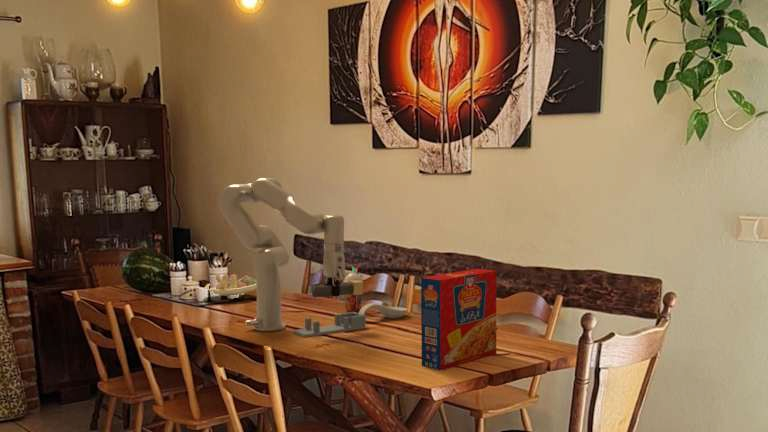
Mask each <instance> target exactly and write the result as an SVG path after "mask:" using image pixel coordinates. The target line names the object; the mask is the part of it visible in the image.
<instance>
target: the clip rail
mask: <svg viewBox="0 0 768 432" xmlns="http://www.w3.org/2000/svg"><path fill="white" fill-rule="evenodd" d="M366 319H367V318H366V314H365V315H362V314H359V312H358V313H356V312H344V313H340V314H339V313H337V314H334V324H328V325H322V326H321V325H320V321H319V320H317V321H313V322H312V318H311V317H309V318H304V321H305V322H304V325H305V326H304V327H305V328H301V329H300V328H299V329H293V334H295V335H298V336H299V337H302V338H309V337H315V336H321V335H329V334H335V333H340V332H341V333H343V332H348V331H355V330H361V329H366V326H367V324H366ZM312 323H313V326H312Z"/></svg>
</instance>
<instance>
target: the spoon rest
mask: <svg viewBox="0 0 768 432" xmlns="http://www.w3.org/2000/svg"><path fill="white" fill-rule="evenodd" d="M371 308H376V309H377V310H378V311H379V312H380V313H381V314H382V316H384V317H385V318H386V319H400V318H402V317H404V316H405V315H406V314H407V313H408V311H409V310H408V308H405V307H401V306H386V305H381V304H377V303H373V302H372V303H371V302H369V303H367V304H365V305H363V306H361V309H360V311H359V312H358V313H359V314H362V315H365V316H366V313H367V311H368V310H370V309H371Z"/></svg>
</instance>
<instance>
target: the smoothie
mask: <svg viewBox="0 0 768 432" xmlns="http://www.w3.org/2000/svg"><path fill="white" fill-rule="evenodd" d="M351 270H352V271H351V272H350V273H348V274H347V275H345V277H344V279H343V284H348V281H353V280H358V281H361V282H363V283H364V281H363V280H362V278H361V276H360V275H359V274H358V273H355V271H354V270H355V269H354V266H351ZM362 295H363V294H360V295H353V294H346V295H344V304H345V310H346V313H349V312H356V313H357V312H358V313H359V311H360V310H361V308H362V301H363V299H362V298H363V296H362Z"/></svg>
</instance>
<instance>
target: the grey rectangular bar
mask: <svg viewBox="0 0 768 432" xmlns="http://www.w3.org/2000/svg"><path fill="white" fill-rule="evenodd" d="M332 286H333V285H328V286H326V285H317V286H315V285H314V286H312V288H311V295H312V297H313V298H321V297H333V296H332ZM346 294H353V295H360V294H362V295H364V281H363V282H361V281H358V280H353V281H348V284H344V283H343V284H341V285H340V296H345V295H346Z"/></svg>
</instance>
